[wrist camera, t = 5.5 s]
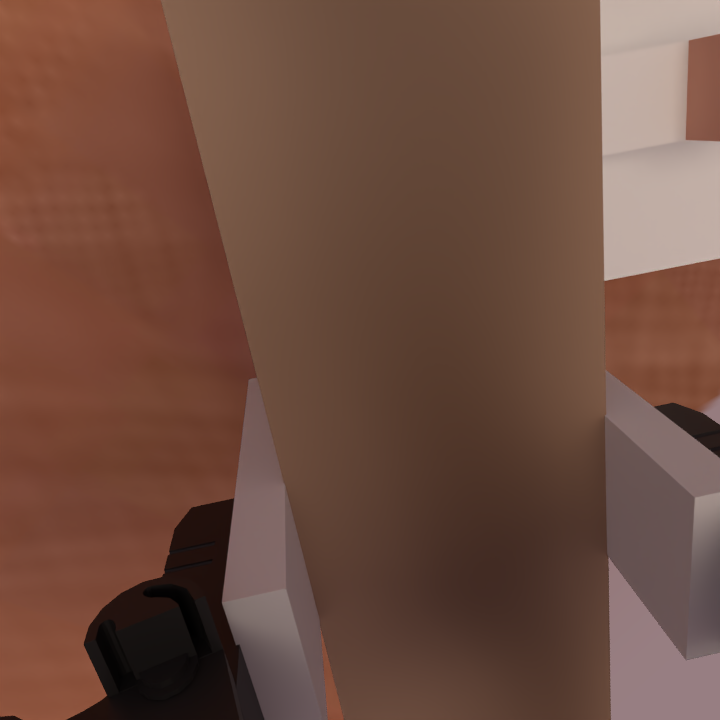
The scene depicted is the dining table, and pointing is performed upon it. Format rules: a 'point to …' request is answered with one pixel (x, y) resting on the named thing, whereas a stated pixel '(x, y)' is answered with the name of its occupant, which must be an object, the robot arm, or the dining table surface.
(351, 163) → the beam
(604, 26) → the stand
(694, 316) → the dining table surface
